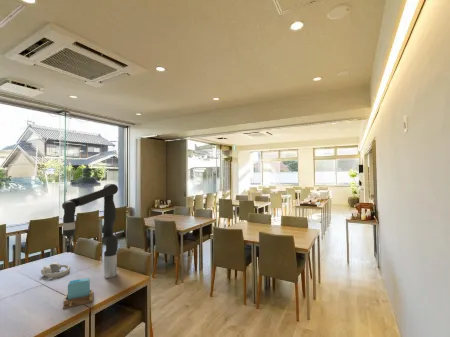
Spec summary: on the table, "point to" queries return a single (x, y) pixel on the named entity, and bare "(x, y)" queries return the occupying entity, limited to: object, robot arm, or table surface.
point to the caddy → (77, 301)
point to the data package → (78, 288)
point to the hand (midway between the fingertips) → (69, 250)
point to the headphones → (54, 270)
